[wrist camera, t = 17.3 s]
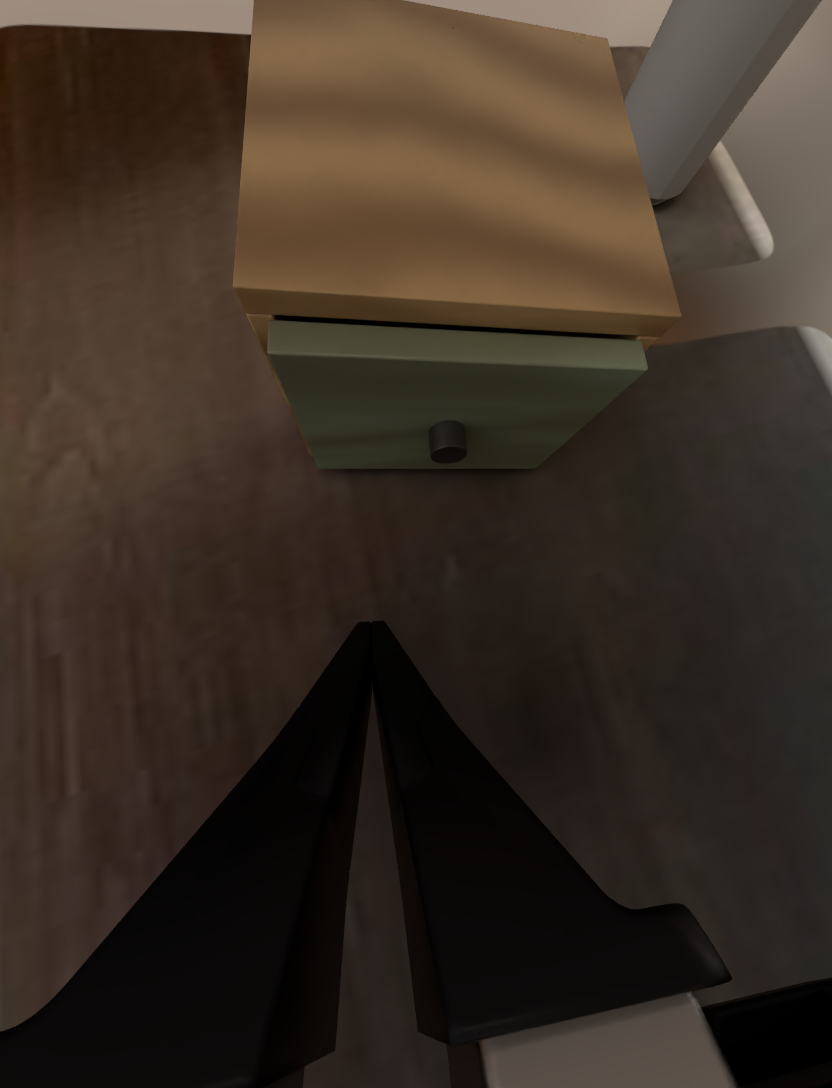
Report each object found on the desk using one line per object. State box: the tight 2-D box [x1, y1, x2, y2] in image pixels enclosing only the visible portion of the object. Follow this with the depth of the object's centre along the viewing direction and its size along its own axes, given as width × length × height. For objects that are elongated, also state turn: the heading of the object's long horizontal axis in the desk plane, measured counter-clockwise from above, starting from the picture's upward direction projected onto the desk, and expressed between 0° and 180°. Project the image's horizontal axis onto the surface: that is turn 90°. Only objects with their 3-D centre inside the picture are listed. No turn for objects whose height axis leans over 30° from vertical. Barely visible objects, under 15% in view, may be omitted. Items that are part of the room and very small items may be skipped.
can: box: [624, 0, 822, 205], centre depth 20 cm, size 8×8×12 cm
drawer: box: [267, 316, 648, 469], centre depth 15 cm, size 14×12×8 cm
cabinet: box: [233, 0, 681, 456], centre depth 15 cm, size 14×14×10 cm
